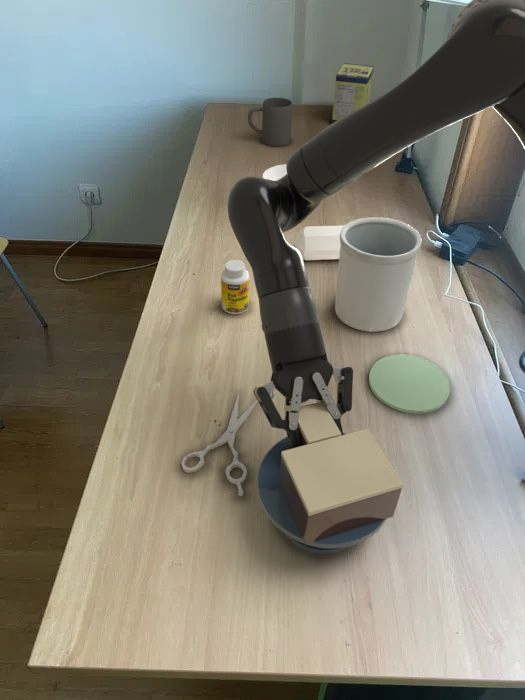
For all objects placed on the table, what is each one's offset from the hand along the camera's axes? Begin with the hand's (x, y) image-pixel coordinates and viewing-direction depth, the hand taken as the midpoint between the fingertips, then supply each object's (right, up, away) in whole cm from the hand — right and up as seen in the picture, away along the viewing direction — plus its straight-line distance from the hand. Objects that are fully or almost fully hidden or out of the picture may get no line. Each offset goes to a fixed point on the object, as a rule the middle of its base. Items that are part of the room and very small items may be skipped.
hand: (319, 451), depth 74 cm
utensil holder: (+14, +21, +41) cm, 48 cm away
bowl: (0, +53, +75) cm, 92 cm away
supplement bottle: (-13, +22, +41) cm, 48 cm away
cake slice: (-1, -1, +3) cm, 3 cm away
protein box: (+23, +94, +122) cm, 155 cm away
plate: (+18, +7, +25) cm, 32 cm away
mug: (-5, +80, +106) cm, 133 cm away
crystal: (+12, +36, +57) cm, 68 cm away
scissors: (-12, -1, +15) cm, 20 cm away
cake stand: (+1, -10, +5) cm, 11 cm away
